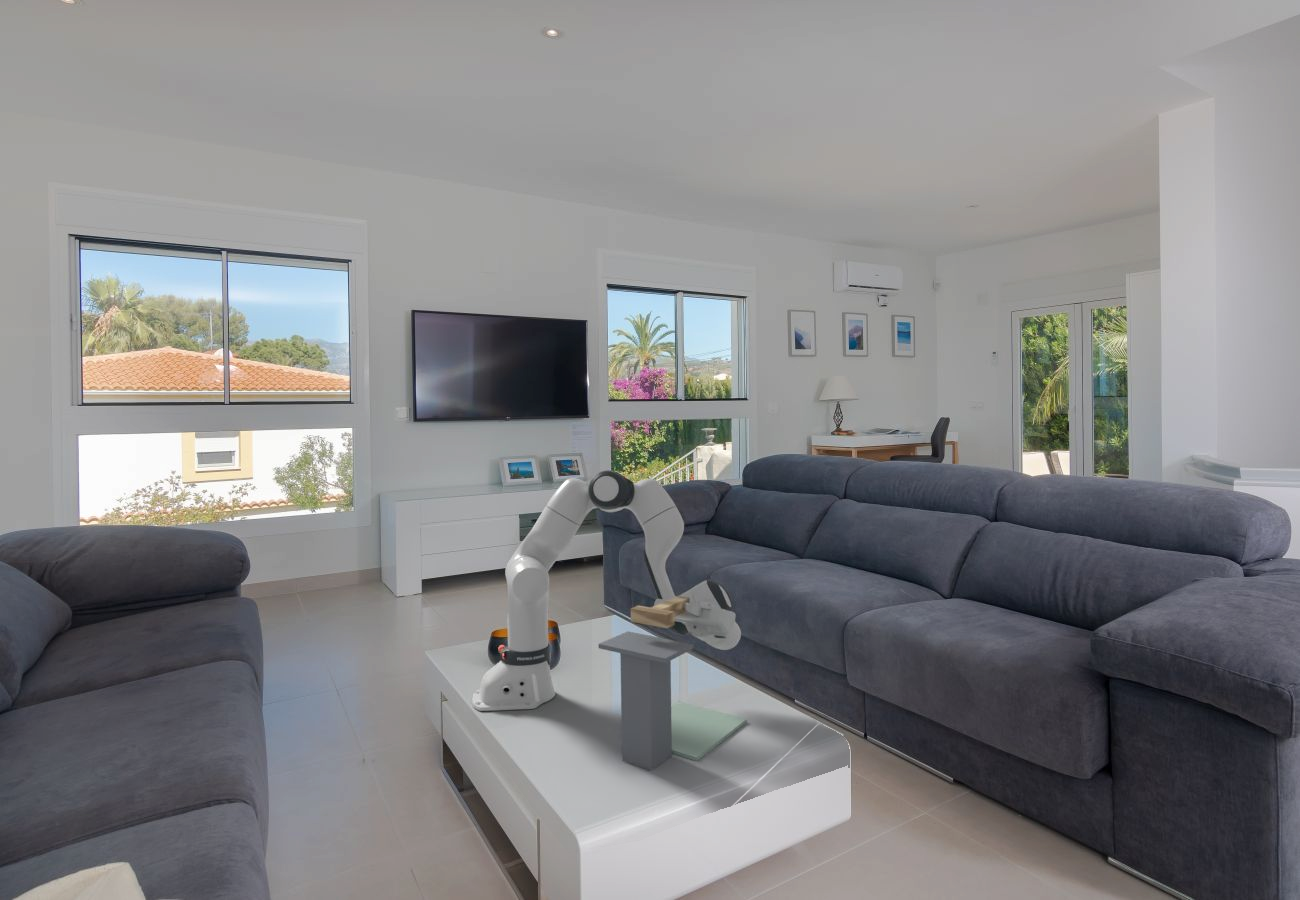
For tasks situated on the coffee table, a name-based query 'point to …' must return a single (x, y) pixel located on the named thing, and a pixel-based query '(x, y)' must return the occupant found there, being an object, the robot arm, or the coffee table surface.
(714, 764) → the coffee table surface
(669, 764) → the coffee table surface
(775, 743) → the coffee table surface
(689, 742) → the mat
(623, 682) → the stand
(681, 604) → the t bar
